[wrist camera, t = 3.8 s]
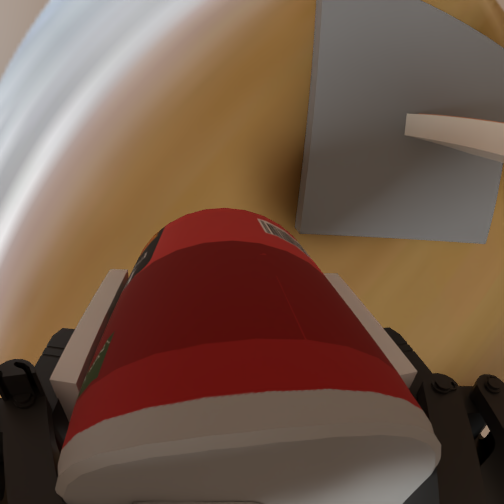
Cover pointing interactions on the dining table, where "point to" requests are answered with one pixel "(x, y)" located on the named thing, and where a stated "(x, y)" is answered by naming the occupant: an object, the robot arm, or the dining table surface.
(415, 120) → the tile
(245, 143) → the dining table surface
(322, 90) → the slate board
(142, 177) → the dining table surface
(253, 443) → the canned food
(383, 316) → the dining table surface
